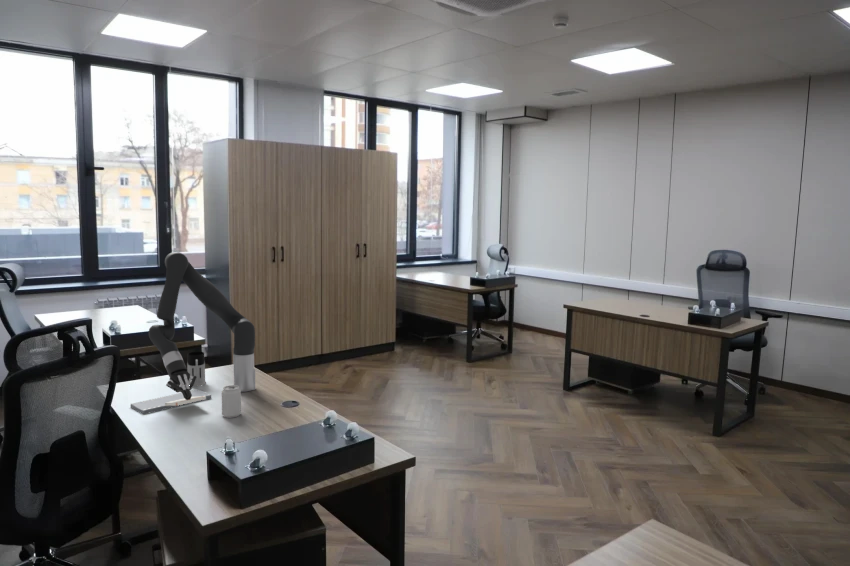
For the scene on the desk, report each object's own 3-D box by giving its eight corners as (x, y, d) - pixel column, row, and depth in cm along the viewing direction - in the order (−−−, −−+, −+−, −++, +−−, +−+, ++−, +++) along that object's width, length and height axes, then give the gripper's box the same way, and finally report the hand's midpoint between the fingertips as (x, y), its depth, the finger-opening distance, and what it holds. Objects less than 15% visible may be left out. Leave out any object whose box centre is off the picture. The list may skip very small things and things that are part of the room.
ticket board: (198, 392, 274) (197, 388, 273) (211, 398, 266) (211, 394, 266) (130, 407, 251) (130, 403, 251) (143, 414, 243) (142, 410, 243)
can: (244, 412, 248) (243, 384, 247) (236, 419, 241) (236, 390, 239) (226, 411, 249) (226, 383, 247) (218, 417, 241) (218, 389, 240)
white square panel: (192, 396, 259) (205, 396, 251) (192, 399, 258) (206, 399, 250) (164, 402, 250) (177, 402, 242) (165, 405, 250) (178, 405, 242)
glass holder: (205, 380, 292) (205, 350, 291) (207, 388, 280) (206, 357, 278) (186, 382, 289) (185, 351, 287) (187, 390, 276) (186, 358, 274)
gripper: (161, 361, 247) (176, 397, 241) (192, 356, 257) (207, 390, 251) (156, 371, 251) (170, 406, 245) (186, 366, 261) (200, 399, 255)
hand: (189, 398), depth 248 cm, fingers closed
